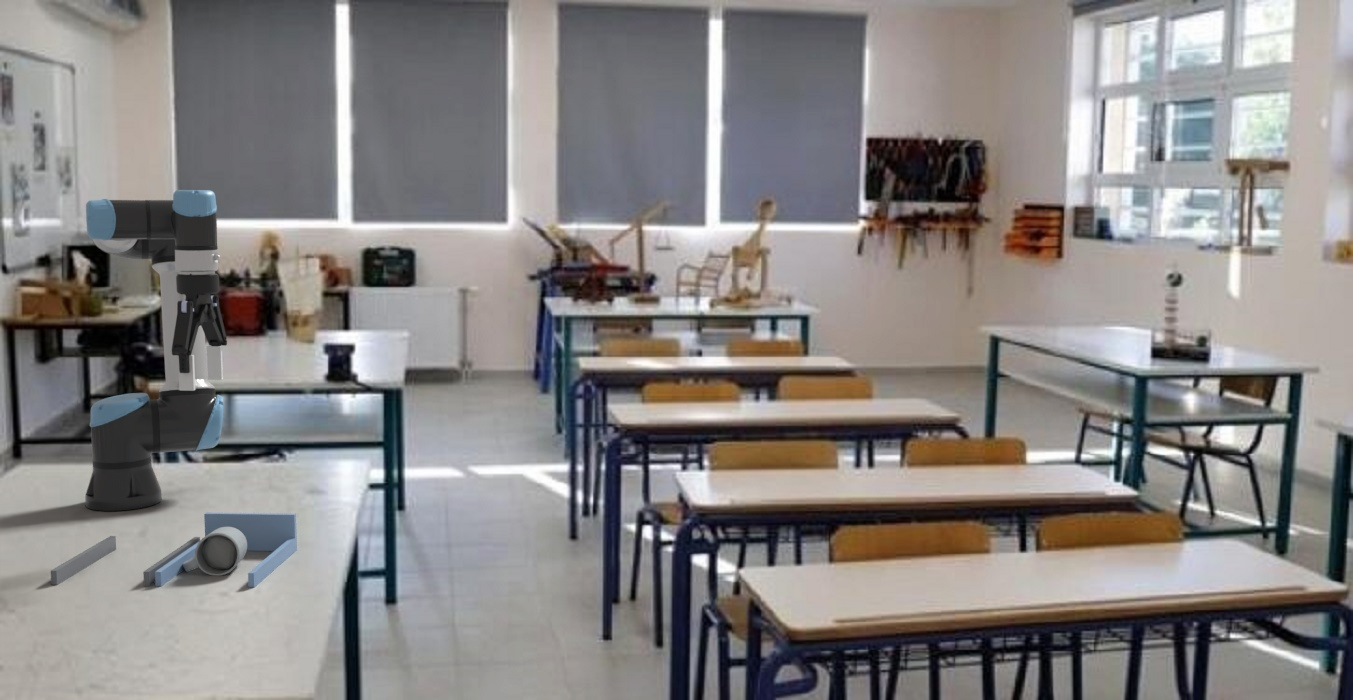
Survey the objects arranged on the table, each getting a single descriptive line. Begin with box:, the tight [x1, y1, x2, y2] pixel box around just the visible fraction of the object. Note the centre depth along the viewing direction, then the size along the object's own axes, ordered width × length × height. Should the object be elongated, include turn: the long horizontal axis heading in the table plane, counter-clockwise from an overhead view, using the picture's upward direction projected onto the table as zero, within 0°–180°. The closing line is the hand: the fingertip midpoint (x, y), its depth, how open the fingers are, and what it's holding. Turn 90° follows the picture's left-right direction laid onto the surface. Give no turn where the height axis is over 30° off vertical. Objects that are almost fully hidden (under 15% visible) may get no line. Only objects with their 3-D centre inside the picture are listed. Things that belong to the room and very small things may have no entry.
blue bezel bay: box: [155, 512, 298, 588], centre depth 226 cm, size 23×17×7 cm
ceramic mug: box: [183, 527, 248, 577], centre depth 225 cm, size 11×8×8 cm
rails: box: [50, 535, 201, 587], centre depth 226 cm, size 22×17×2 cm
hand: (201, 384), depth 238 cm, fingers open, 13 cm apart
